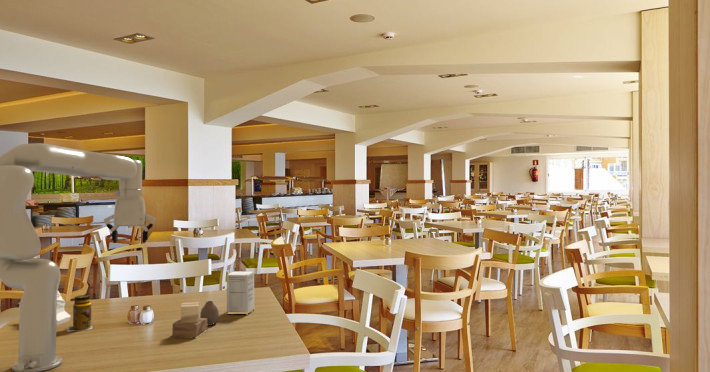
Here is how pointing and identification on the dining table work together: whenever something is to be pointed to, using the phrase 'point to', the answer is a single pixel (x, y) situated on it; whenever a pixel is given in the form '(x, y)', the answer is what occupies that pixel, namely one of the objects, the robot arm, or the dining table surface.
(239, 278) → the supplement box
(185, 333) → the walnut block
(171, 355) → the dining table surface
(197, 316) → the oak cube
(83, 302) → the condiment
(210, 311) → the vase
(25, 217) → the robot arm
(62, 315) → the white faceted lump
